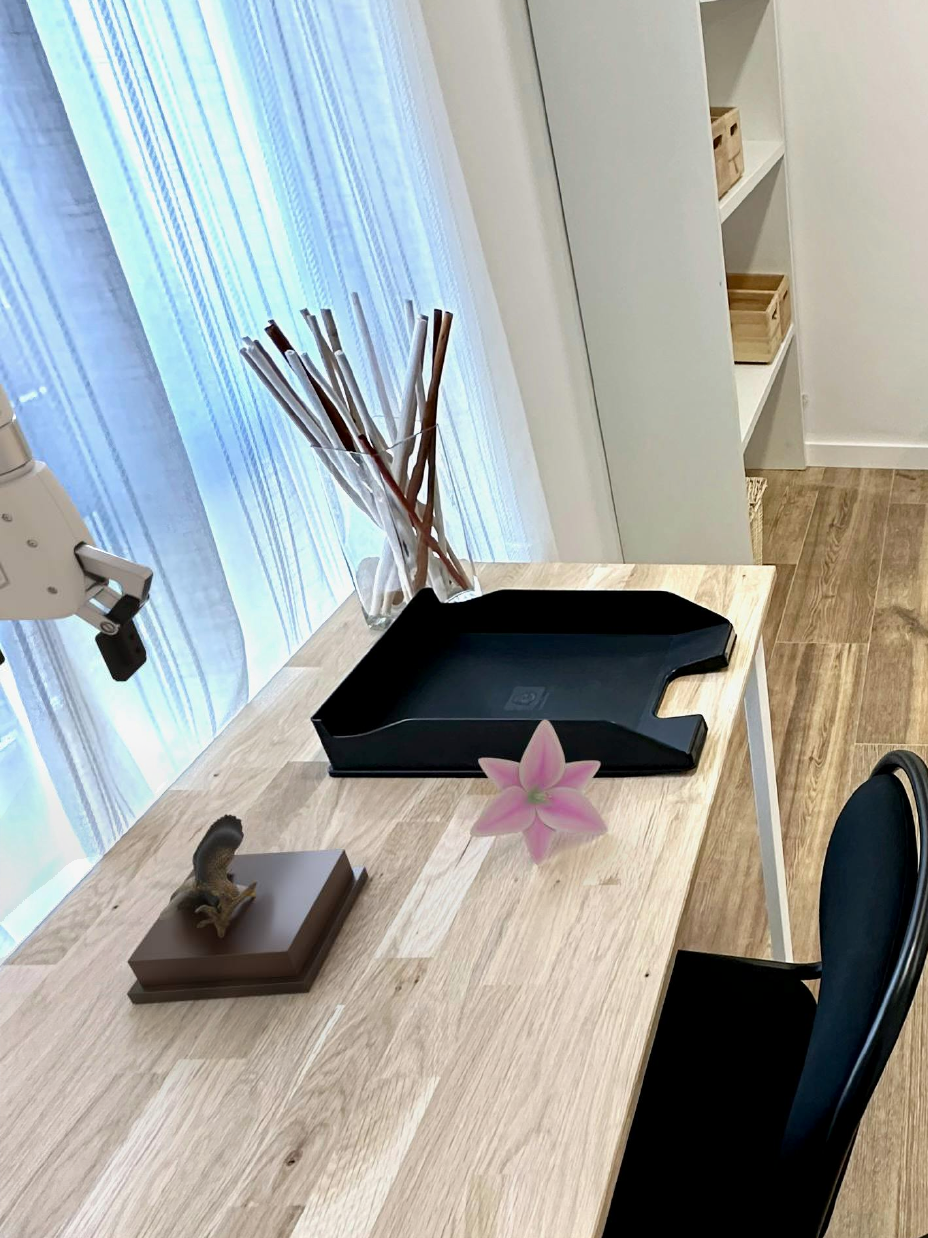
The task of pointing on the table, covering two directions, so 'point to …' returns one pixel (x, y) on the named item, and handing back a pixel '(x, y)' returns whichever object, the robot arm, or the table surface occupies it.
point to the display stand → (253, 932)
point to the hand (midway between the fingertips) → (60, 672)
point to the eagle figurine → (212, 877)
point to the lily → (539, 795)
